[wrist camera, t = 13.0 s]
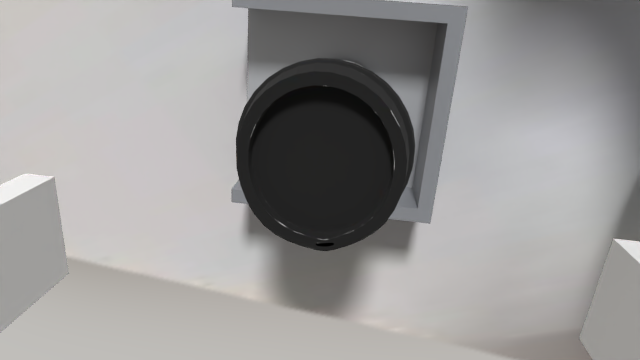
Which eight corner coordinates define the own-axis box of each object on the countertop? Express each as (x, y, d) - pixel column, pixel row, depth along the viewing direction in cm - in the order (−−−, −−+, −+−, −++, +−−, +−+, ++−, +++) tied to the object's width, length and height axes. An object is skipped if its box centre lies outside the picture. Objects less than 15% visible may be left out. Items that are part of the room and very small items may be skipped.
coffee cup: (288, 158, 35) (234, 257, 21) (277, 44, 32) (206, 70, 18) (399, 154, 34) (421, 255, 20) (398, 36, 31) (422, 57, 17)
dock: (253, -7, 32) (232, -11, 27) (451, 8, 31) (467, 6, 26) (250, 176, 37) (231, 202, 32) (421, 193, 36) (430, 223, 31)
